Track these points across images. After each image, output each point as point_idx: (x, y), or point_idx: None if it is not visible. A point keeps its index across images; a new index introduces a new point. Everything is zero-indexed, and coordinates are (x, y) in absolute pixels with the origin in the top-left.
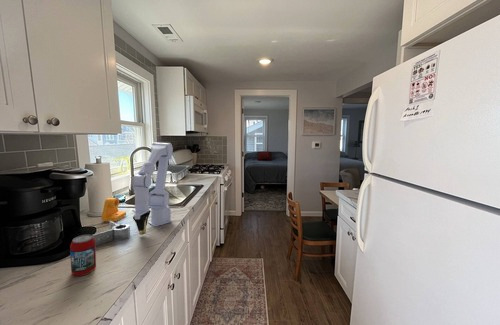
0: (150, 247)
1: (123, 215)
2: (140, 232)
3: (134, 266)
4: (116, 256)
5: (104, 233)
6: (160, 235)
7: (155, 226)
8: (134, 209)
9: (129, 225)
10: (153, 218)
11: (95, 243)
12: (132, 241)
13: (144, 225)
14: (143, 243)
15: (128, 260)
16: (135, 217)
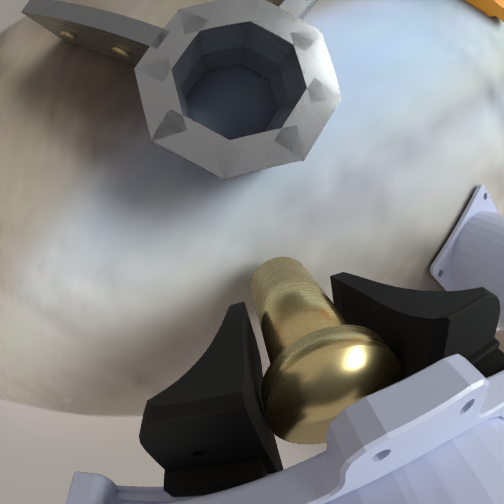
0: (142, 391)
1: (495, 11)
2: (253, 295)
3: (13, 383)
4: (9, 273)
5: (83, 28)
6: None
7: (430, 271)
8: (425, 443)
9: (301, 157)
10: (486, 259)
11: (62, 37)
12: (176, 248)
13: (262, 380)
14: (170, 339)
15: (17, 348)
16: (75, 500)
